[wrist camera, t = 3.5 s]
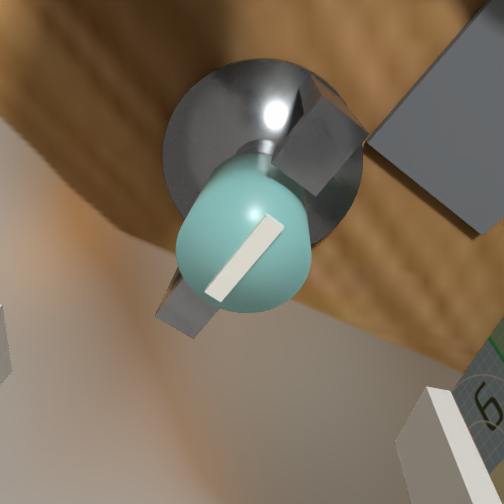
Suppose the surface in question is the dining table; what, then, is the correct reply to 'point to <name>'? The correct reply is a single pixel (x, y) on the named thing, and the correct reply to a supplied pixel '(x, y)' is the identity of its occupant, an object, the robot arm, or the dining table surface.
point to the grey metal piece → (260, 151)
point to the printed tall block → (486, 404)
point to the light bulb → (246, 237)
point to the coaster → (456, 123)
